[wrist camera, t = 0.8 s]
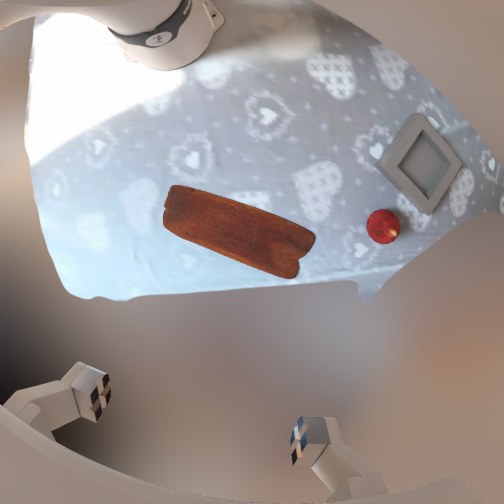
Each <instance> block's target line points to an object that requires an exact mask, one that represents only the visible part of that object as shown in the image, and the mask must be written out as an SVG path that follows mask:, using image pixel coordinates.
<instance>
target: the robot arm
mask: <svg viewBox="0 0 504 504" xmlns="http://www.w3.org/2000/svg"><path fill="white" fill-rule="evenodd" d="M51 13H77V14H83V15H86V16H89V17H91V18H93V19H95V20H97V21H99V22H101V23H102V24H104V25H106V26H107V27H108V29H109V30H110V32H111V33H112V34H113V35H114V36H115V37H116V38H117V41H116V43H117V45H118V46H119V47H120V48H122V49H123V50H124V58H125V59H126V60H127V61H129V62H139V63H141V64H143V65H145V66H147V67H148V68H151V69H154V70H160V71H167V70H174V69H177V68H180V67H183V66H185V65H187V64H189V63H191V62H192V61H194V60H195V59H197V58H198V57H199V56H200V55H201V54H202V53H203V52H204V51H205V50H206V48H207V47H208V45H209V43H210V41H211V39H212V36H213V34H214V32H215V31H216V30H217V29H218V28H220V27H221V26H222V24H223V23H224V18H223V16H222V15H221V13H220V12H219V11H218V9H217V8H216V7H215V5H214V4H213V3H212V2H211V0H0V30H1V29H3V28H5V27H7V26H9V25H11V24H13V23H15V22H18V21H20V20H23V19H26V18H29V17H32V16H37V15H43V14H51ZM213 15H216V16H215V17H212V16H213ZM109 381H110V378H109V375H108V374H107V373H104V372H102V371H99V370H97V369H95V368H93V367H90V366H88V365H86V364H83V363H81V362H77V363H76V364H75V365H74V366H73V367H72V368H71V369H70V370H69V372H68V373H67V374H66V375H65V376H64V377H63V378H62V379H61V381H58V380H57V381H53V382H49V383H46V384H42V385H38V386H35V387H31V388H27V389H23V390H19V391H16V392H15V393H14V395H12V397H11V398H10V399H9V400H8V401H7V402H6V403H5V404H4V405H3V406H2V405H0V504H277V503H257V502H245V501H235V500H227V499H220V498H214V497H208V496H202V495H197V494H192V493H187V492H183V491H179V490H175V489H171V488H167V487H163V486H160V485H156V484H153V483H149V482H146V481H143V480H140V479H137V478H134V477H131V476H128V475H126V474H123V473H120V472H118V471H115V470H113V469H110V468H108V467H105V466H103V465H101V464H98V463H96V462H94V461H92V460H89V459H87V458H85V457H83V456H81V455H79V454H77V453H75V452H73V451H71V450H69V449H67V448H65V447H64V446H62V445H60V444H58V443H56V442H55V439H54V437H53V435H52V433H51V431H52V430H54V429H56V428H58V427H60V426H62V425H65V424H67V423H69V422H71V421H73V420H75V419H77V418H79V417H80V416H82V417H84V418H87V419H89V420H92V421H94V422H96V423H97V421H98V420H99V418H100V416H101V415H102V413H103V412H102V408H104V407H106V406H107V405H108V403H109V401H110V398H111V387H110V386H109V384H108V382H109ZM297 425H298V426H296V427H294V429H293V431H292V433H291V439H290V445H291V448H292V449H293V450H294V451H293V453H292V455H291V456H292V464H293V466H295V467H312V469H313V470H314V472H315V473H316V474H317V475H318V476H319V478H320V479H321V480H322V481H323V482H324V484H325V485H326V486H327V487H328V488H329V490H330V491H331V492H332V493H333V495H332V496H331V497H330V498H328V499H327V500H326V502H323V503H304V504H483V503H482V501H481V498H480V496H479V494H478V492H477V490H476V489H475V488H474V487H473V486H472V485H471V484H469V483H468V482H466V481H464V480H462V479H460V478H458V477H456V476H454V475H450V476H446V477H443V478H440V479H437V480H434V481H431V482H428V483H425V484H422V485H418V486H415V487H411V488H408V489H404V490H400V491H396V492H391V493H388V492H387V489H386V486H385V483H384V480H383V477H382V474H381V472H380V471H378V470H377V469H376V468H374V467H373V466H372V465H371V464H369V463H368V462H367V461H366V460H364V459H363V458H362V457H361V456H360V455H358V454H357V453H356V452H355V451H354V450H352V449H351V448H350V447H349V446H348V445H346V444H343V442H342V438H341V435H340V432H339V428H338V425H337V422H336V419H335V418H334V417H310V416H309V417H308V416H300V417H299V419H298V421H297ZM302 504H303V503H302Z"/></svg>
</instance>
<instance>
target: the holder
mask: <svg viewBox="0 0 504 504" xmlns="http://www.w3.org/2000/svg"><path fill="white" fill-rule="evenodd" d="M461 165H462V163H461V161H460V160H459V159H458V157H457V156H456V155H455V153H454V152H453V151H452V149H451V148H450V147H449V146H448V144H447V143H446V142H445V141H444V139H443V138H442V137H441V136H440V135H439V133H438V132H437V131H436V130H435V129H434V128H433V126H432V125H431V124H430V123H429V122H428V121H427V120H426V119H425V118H424V116H423V115H422V114H421V113H417V114H411V115H410V116H409V118H408V119H407V121H406V122H405V124H404V125H403V126H402V128H401V129H400V131H399V132H398V134H397V135H396V137H395V138H394V139H393V141H392V142H391V144H390V145H389V146H388V148H387V149H386V151H385V152H384V153H383V155H382V156H381V158H380V159H379V160H378V162H377V163H376V165H375V167H376V168H377V169H378V170H379V171H380V172H381V173H382V174H383V175H384V176H385V177H386V178H387V179H388V180H389V181H390V182H391V183H392V184H393V185H394V186H395V187H396V188H397V189H398V190H399V191H400V192H401V193H402V194H403V195H404V196H405V197H406V198H407V199H408V200H409V201H410V202H411V203H412V204H413V205H414V206H415V207H416V208H417V209H418V211H419V212H421V213H424V214H426V215H428V216H429V215H430V214H431V212H432V211H433V209H434V208H435V206H436V205H437V203H438V202H439V200H440V199H441V197H442V196H443V194H444V193H445V191H446V190H447V188H448V187H449V185H450V183H451V182H452V180H453V179H454V177H455V175H456V174H457V172H458V170H459V169H460V167H461Z"/></svg>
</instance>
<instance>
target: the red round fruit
mask: <svg viewBox="0 0 504 504" xmlns="http://www.w3.org/2000/svg"><path fill="white" fill-rule="evenodd" d="M366 228H367V231H368V234H369V236H370V237H371V238H372V239H373V240H374V241H375V242H377V243H380V244H389V243H391V242H393V241H394V240H395V239H396V238H397V237H398V234H399V231H400V224H399V220H398V218H397V217H396V215H395V214H394V213H393V212H391V211H389V210H383V209H380V210H377V211H375V212H373V213H372V214H371V215H370V217H369V219H368V220H367V227H366Z"/></svg>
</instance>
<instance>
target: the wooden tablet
mask: <svg viewBox="0 0 504 504" xmlns="http://www.w3.org/2000/svg"><path fill="white" fill-rule="evenodd" d="M164 206H165V210H164V214H163V225H164V227H165V228H166V229H168V230H169V231H171V232H172V233H174V234H175V235H177V236H179V237H181V238H183V239H185V240H188V241H191V242H193V243H196V244H198V245H201V246H203V247H206V248H208V249H210V250H213V251H215V252H218V253H220V254H222V255H224V256H227V257H229V258H232V259H234V260H236V261H239V262H241V263H244V264H246V265H249V266H251V267H254V268H257V269H259V270H262V271H265V272H267V273H270V274H272V275H275V276H278V277H281V278H286V279H293V278H294V277H295V276H296V274H297V272H298V269H299V259H300V258H302V257H303V256H305V255H306V254H307V252H308V251H309V250H310V248H311V247H312V245H313V243H314V240H315V237H314V234H313V233H312V232H310V231H308V230H306V229H304V228H303V227H301V226H299V225H297V224H295V223H292V222H290V221H288V220H286V219H283V218H281V217H279V216H276V215H274V214H271V213H268V212H266V211H263V210H260V209H257V208H255V207H251V206H248V205H245V204H242V203H239V202H236V201H234V200H230V199H227V198H224V197H221V196H217V195H214V194H211V193H208V192H205V191H201V190H195V189H194V188H190V187H186V186H180V185H173V186H171V188H170V190H169V192H168V196H167V199H166V201H165V205H164Z"/></svg>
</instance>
